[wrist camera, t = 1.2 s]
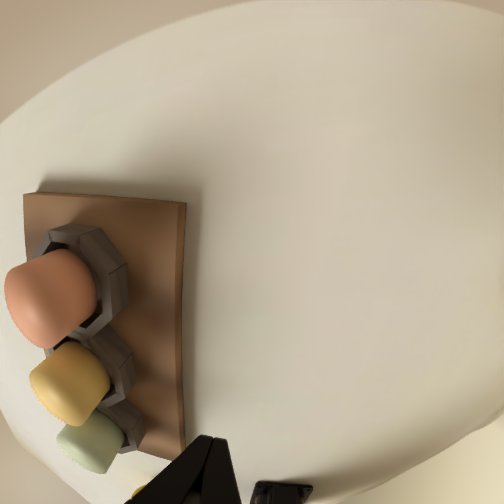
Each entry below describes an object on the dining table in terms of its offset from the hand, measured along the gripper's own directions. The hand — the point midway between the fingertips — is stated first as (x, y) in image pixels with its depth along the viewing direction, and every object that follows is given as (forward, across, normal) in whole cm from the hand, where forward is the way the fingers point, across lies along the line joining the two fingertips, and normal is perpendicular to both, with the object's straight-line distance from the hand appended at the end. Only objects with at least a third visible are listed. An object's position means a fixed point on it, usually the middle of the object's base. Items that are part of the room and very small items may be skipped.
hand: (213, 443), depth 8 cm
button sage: (+8, +12, +14) cm, 20 cm away
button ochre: (+8, +12, +7) cm, 16 cm away
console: (+12, +12, +7) cm, 18 cm away
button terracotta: (+8, +12, 0) cm, 15 cm away
